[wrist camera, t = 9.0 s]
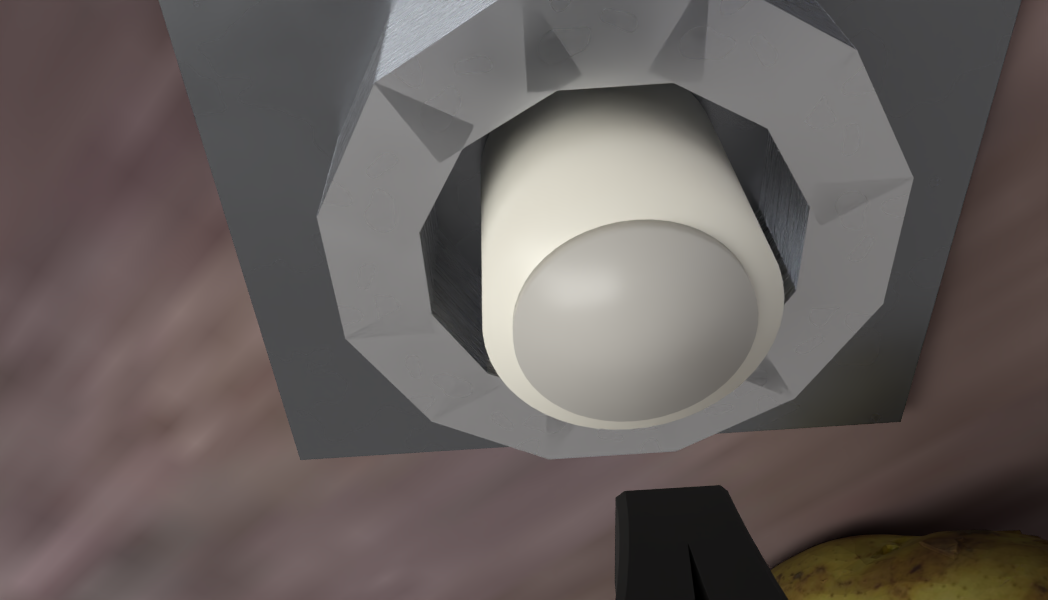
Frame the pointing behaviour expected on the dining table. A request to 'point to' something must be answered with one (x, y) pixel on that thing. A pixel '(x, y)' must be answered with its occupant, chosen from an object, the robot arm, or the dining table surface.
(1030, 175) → the dining table surface
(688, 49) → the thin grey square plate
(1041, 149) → the dining table surface
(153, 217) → the dining table surface
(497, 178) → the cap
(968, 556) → the yellow oval piece
